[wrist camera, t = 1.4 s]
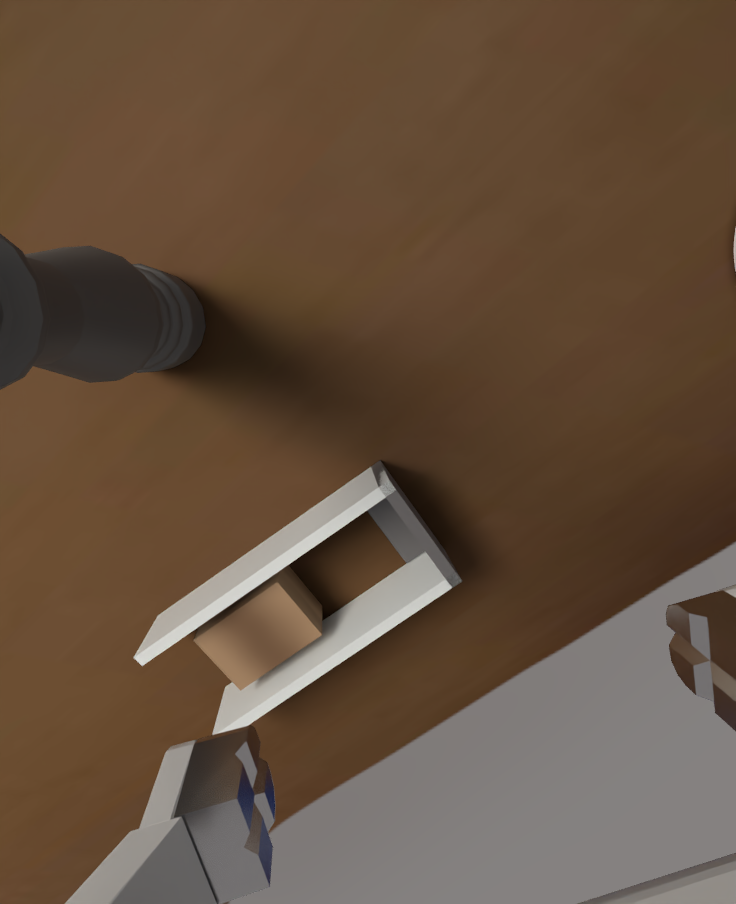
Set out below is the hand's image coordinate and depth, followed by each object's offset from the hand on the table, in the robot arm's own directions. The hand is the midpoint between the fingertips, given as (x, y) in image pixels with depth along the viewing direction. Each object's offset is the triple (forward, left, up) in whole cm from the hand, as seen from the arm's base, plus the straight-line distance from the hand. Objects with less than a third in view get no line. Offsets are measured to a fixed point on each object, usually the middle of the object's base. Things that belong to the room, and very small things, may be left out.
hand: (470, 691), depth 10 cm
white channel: (+2, +12, -27) cm, 29 cm away
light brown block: (+5, +15, -27) cm, 31 cm away
